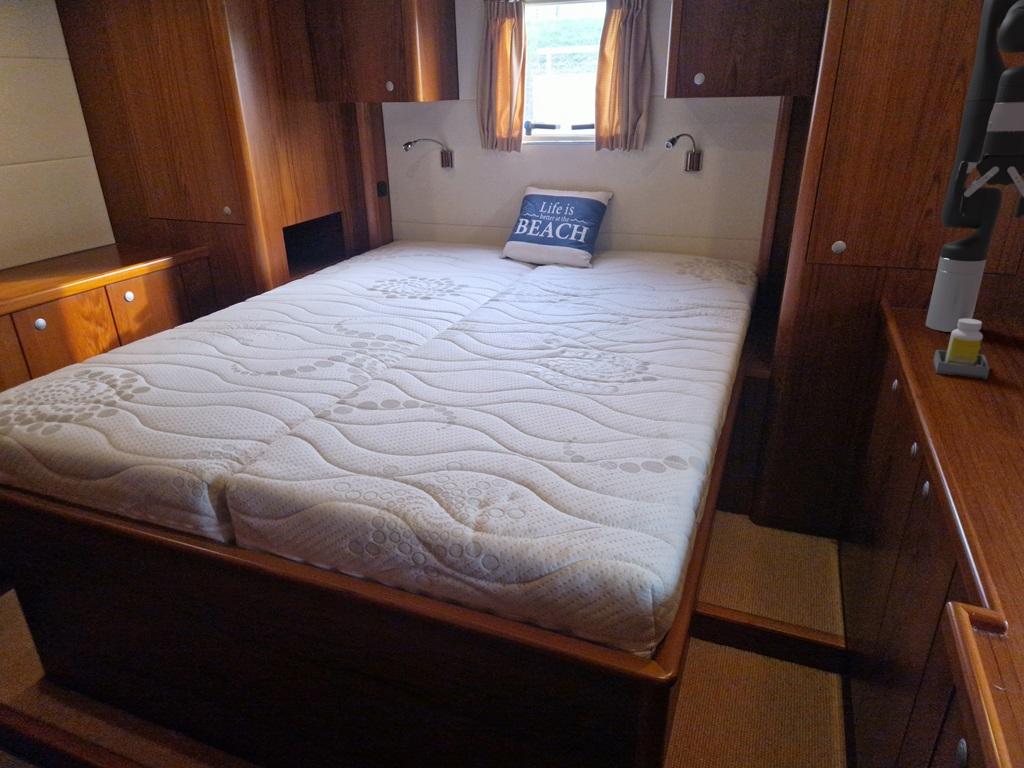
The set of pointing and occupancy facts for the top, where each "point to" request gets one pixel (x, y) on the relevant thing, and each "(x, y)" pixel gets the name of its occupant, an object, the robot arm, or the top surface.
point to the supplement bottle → (965, 342)
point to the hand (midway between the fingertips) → (990, 216)
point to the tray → (961, 366)
